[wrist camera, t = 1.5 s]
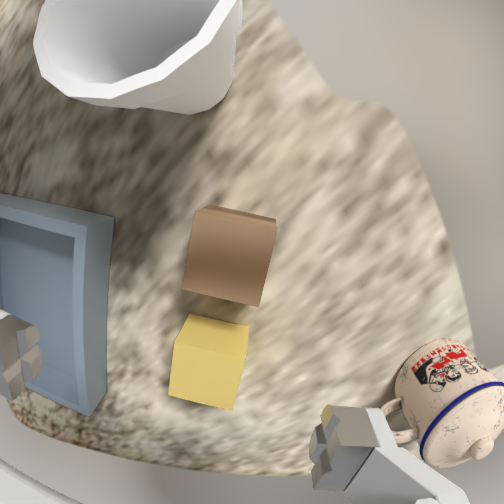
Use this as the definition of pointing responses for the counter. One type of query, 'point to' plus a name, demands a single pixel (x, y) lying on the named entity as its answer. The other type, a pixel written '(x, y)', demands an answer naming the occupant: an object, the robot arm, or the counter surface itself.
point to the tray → (59, 293)
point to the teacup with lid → (448, 404)
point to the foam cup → (140, 51)
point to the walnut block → (229, 254)
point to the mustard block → (208, 361)
